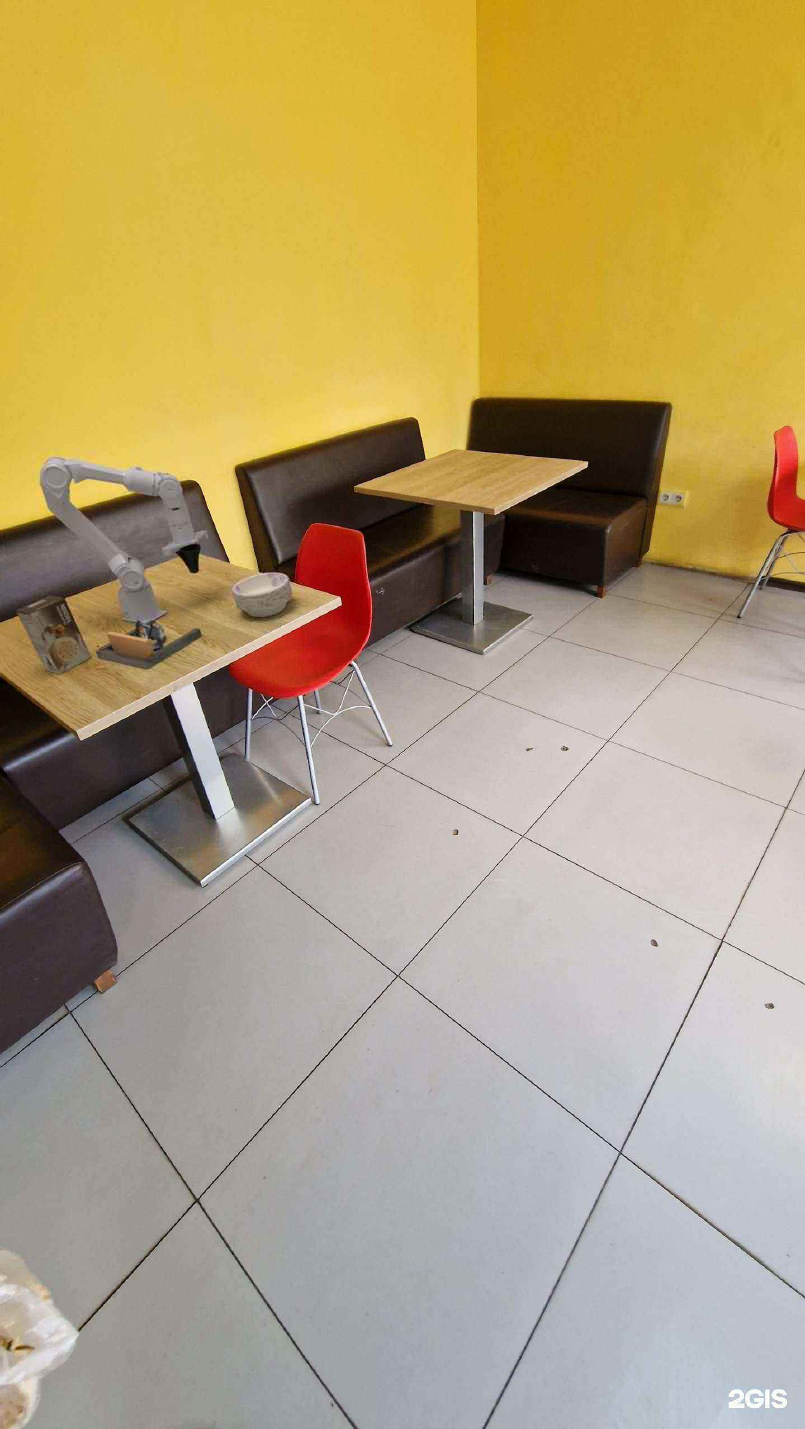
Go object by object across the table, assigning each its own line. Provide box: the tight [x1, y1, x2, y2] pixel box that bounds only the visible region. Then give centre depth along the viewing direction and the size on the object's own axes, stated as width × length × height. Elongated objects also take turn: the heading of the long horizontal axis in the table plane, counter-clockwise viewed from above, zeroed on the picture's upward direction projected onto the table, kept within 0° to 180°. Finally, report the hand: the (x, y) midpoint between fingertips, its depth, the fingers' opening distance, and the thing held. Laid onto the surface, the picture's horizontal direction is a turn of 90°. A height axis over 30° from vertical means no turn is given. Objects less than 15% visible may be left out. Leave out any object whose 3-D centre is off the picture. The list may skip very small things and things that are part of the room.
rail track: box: [95, 619, 203, 670], centre depth 157 cm, size 18×18×2 cm
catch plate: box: [106, 631, 155, 658], centre depth 153 cm, size 14×1×5 cm, turn 61°
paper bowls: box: [231, 572, 293, 618], centre depth 167 cm, size 15×15×8 cm
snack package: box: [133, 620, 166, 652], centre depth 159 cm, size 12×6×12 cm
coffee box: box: [15, 595, 92, 675], centre depth 150 cm, size 9×6×16 cm
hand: (194, 572), depth 173 cm, fingers closed
